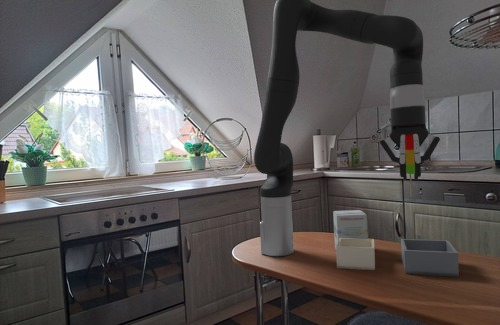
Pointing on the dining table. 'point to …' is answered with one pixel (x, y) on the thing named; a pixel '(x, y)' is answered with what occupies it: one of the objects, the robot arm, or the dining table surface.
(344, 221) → the ink box
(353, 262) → the cream open box
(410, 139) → the popsicle
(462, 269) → the dining table surface
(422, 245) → the caddy
